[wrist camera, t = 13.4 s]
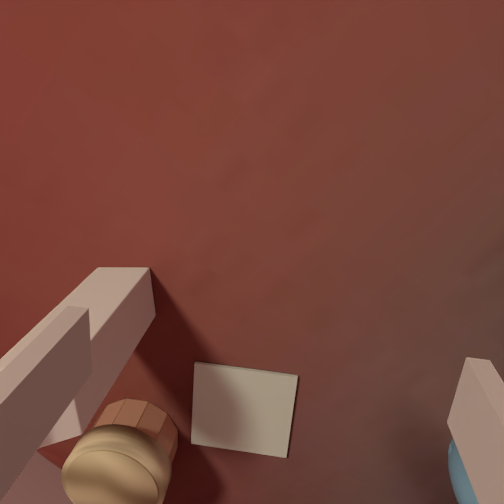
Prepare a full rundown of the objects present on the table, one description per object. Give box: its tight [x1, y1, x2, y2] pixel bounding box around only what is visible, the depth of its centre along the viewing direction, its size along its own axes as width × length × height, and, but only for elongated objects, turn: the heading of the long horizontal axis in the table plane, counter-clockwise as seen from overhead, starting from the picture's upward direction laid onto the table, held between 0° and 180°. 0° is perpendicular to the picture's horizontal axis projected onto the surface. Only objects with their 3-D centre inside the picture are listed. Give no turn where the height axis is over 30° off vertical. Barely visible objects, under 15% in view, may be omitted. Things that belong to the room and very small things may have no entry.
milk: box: [0, 267, 156, 448], centre depth 43 cm, size 6×6×22 cm
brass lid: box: [61, 424, 172, 504], centre depth 53 cm, size 12×12×4 cm
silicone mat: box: [191, 361, 298, 458], centre depth 57 cm, size 12×12×1 cm
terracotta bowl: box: [92, 399, 178, 465], centre depth 57 cm, size 10×10×6 cm
